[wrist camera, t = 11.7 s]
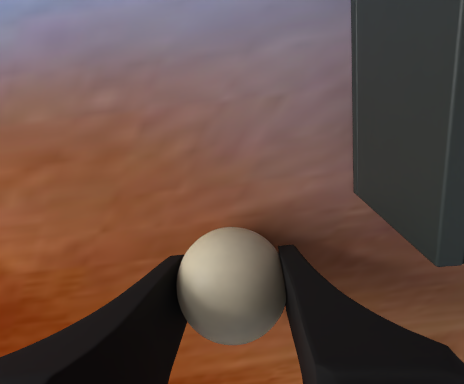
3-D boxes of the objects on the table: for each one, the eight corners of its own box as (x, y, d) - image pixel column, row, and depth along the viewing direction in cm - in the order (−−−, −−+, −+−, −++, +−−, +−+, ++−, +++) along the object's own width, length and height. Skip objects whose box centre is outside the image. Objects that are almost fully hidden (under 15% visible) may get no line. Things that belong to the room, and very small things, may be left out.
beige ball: (277, 205, 12) (289, 260, 8) (286, 287, 13) (300, 372, 9) (182, 215, 12) (145, 273, 8) (199, 293, 14) (176, 376, 10)
